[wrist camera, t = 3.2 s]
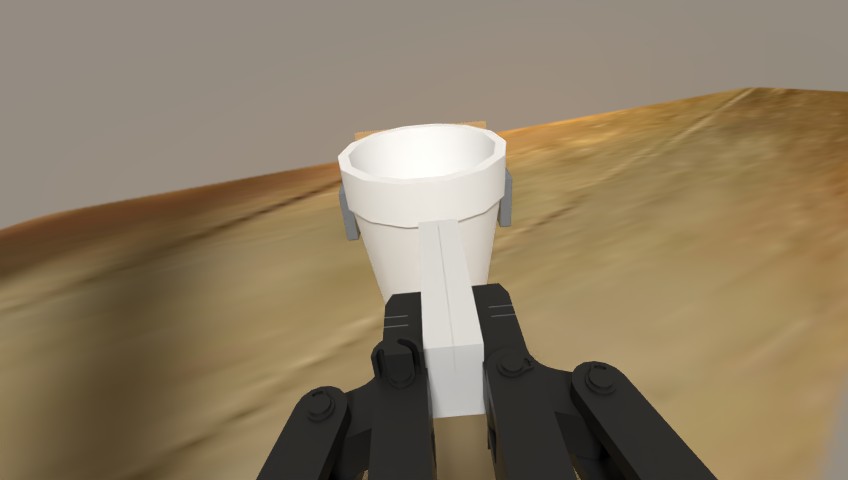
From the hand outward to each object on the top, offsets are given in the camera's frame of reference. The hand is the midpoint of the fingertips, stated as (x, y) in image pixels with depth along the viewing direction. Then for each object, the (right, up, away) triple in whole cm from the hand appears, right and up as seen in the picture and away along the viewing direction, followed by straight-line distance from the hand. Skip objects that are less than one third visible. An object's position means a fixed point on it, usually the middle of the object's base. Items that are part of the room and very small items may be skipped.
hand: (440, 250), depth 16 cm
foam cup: (0, -6, +14) cm, 15 cm away
